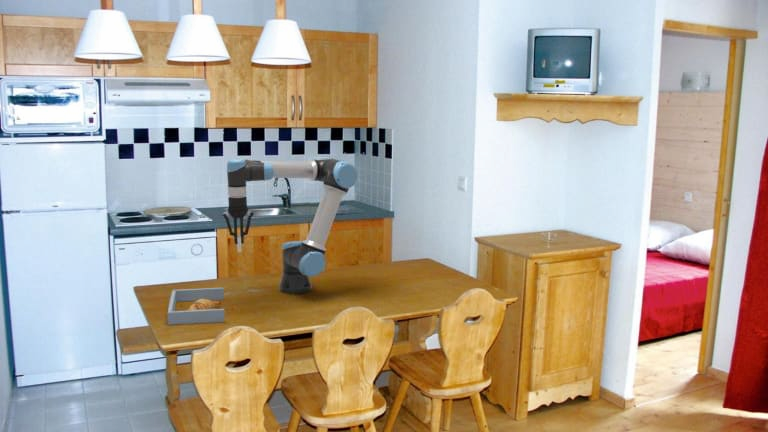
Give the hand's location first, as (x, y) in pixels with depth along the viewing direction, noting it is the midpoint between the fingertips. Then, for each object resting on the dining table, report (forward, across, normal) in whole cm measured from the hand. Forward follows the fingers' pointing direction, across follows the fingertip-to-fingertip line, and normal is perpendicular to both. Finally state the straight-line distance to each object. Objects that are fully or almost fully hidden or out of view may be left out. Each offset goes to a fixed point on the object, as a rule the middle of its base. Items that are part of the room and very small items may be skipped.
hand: (239, 251), depth 298 cm
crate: (+24, +18, +2) cm, 31 cm away
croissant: (+25, +17, +7) cm, 31 cm away
